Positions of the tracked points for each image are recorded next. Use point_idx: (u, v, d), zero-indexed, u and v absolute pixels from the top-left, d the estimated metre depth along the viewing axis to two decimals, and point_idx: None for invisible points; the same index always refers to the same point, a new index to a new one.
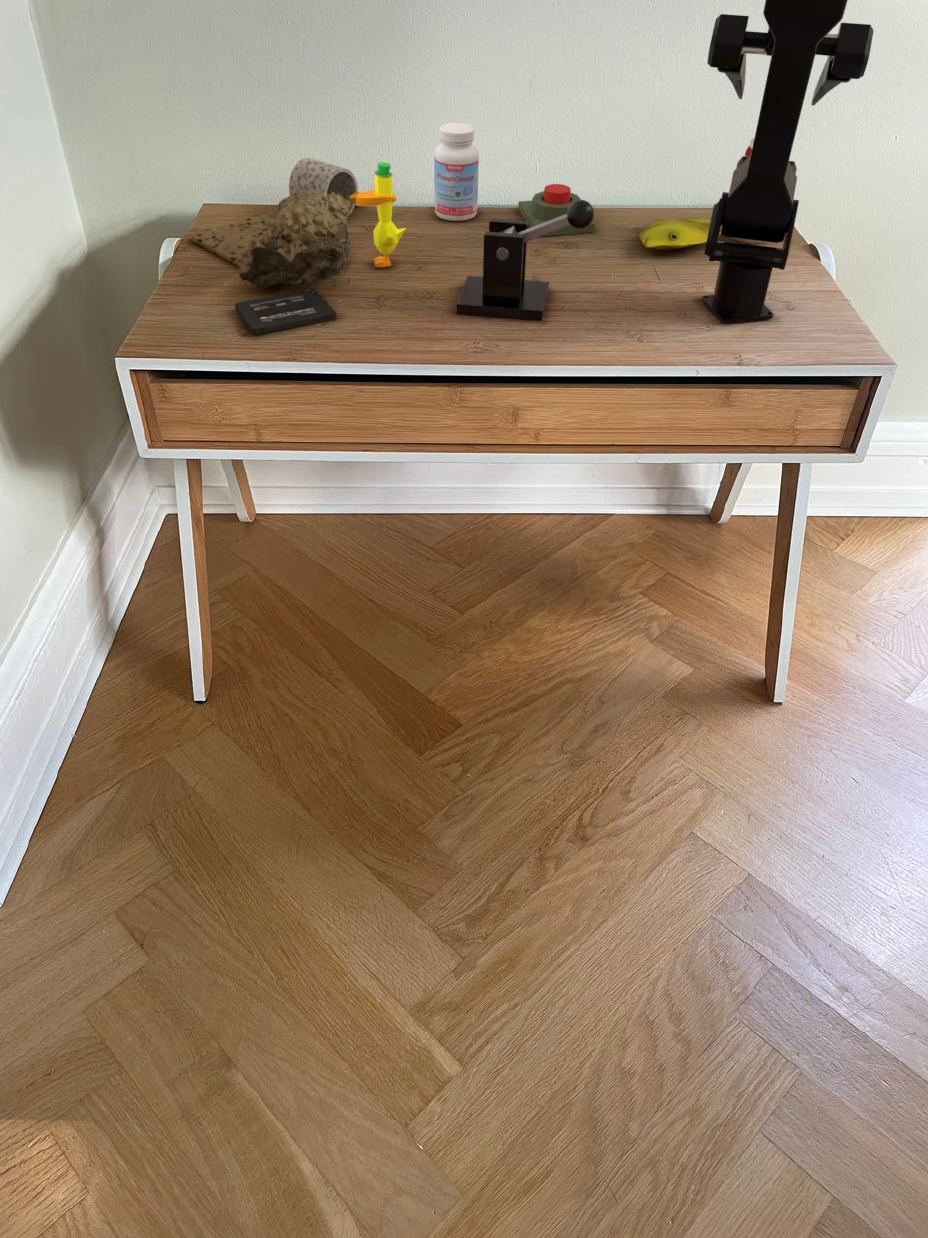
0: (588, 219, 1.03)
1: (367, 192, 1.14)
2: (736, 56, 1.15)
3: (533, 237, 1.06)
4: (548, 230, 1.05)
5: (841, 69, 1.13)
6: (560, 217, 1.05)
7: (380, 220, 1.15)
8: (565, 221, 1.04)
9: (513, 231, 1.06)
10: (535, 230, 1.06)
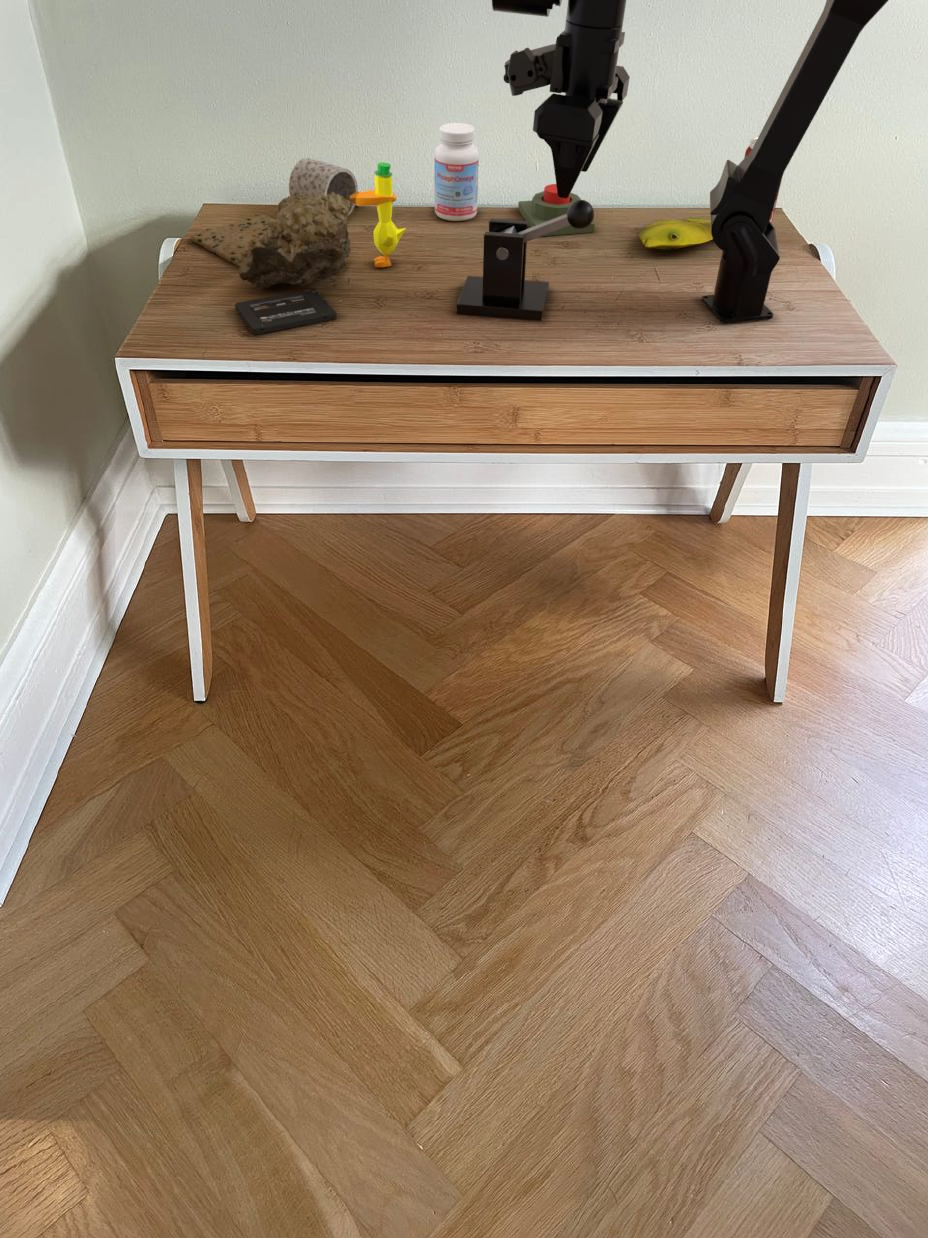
0: (588, 219, 1.03)
1: (367, 192, 1.14)
2: (601, 112, 0.94)
3: (533, 237, 1.06)
4: (548, 230, 1.05)
5: (625, 87, 1.03)
6: (560, 217, 1.05)
7: (380, 220, 1.15)
8: (565, 221, 1.04)
9: (513, 231, 1.06)
10: (535, 230, 1.06)
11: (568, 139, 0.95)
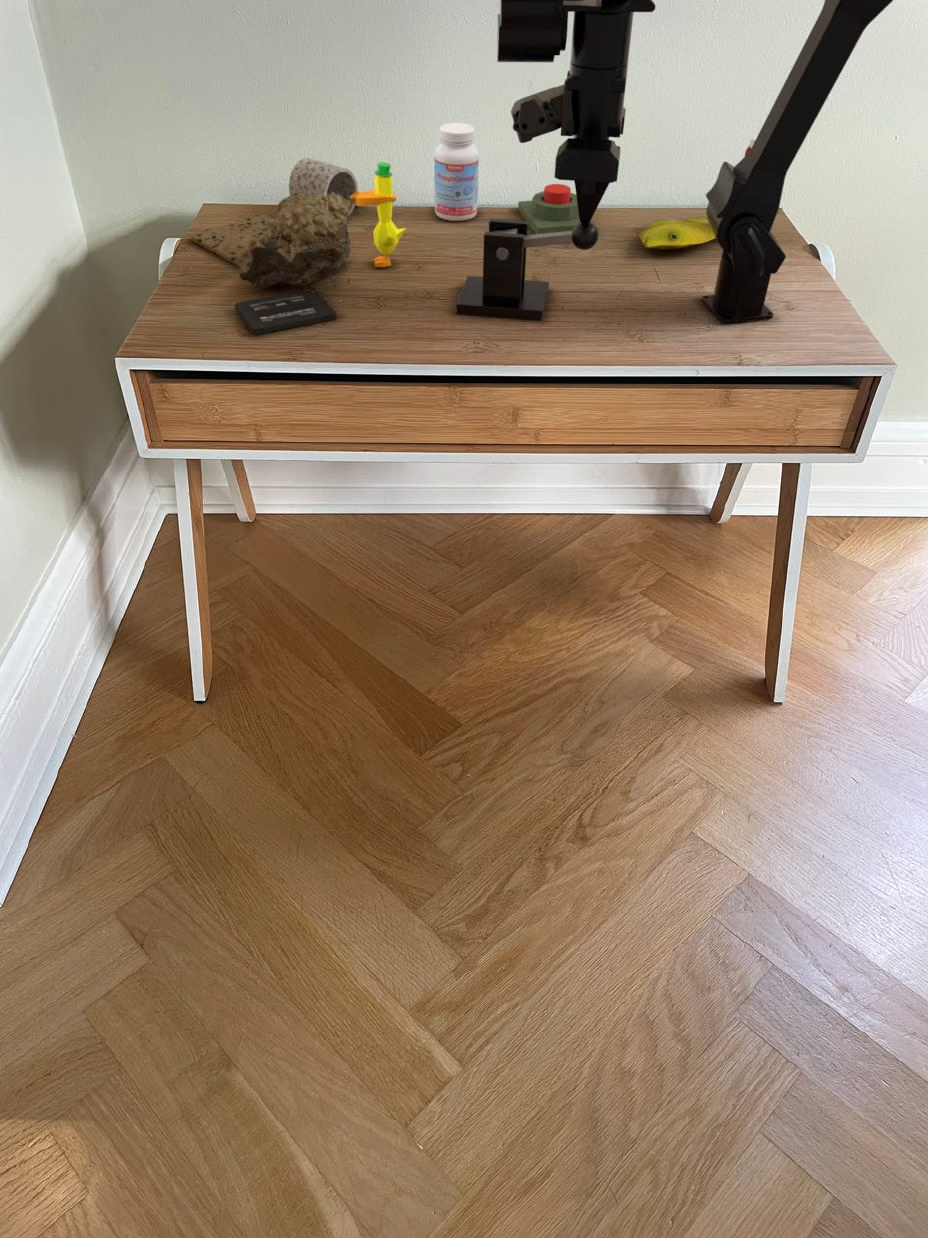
0: (592, 242, 1.05)
1: (367, 192, 1.14)
2: (619, 152, 0.94)
3: (534, 245, 1.07)
4: (550, 242, 1.06)
5: None
6: (565, 233, 1.06)
7: (380, 220, 1.15)
8: (569, 238, 1.06)
9: None
10: (538, 239, 1.06)
11: None
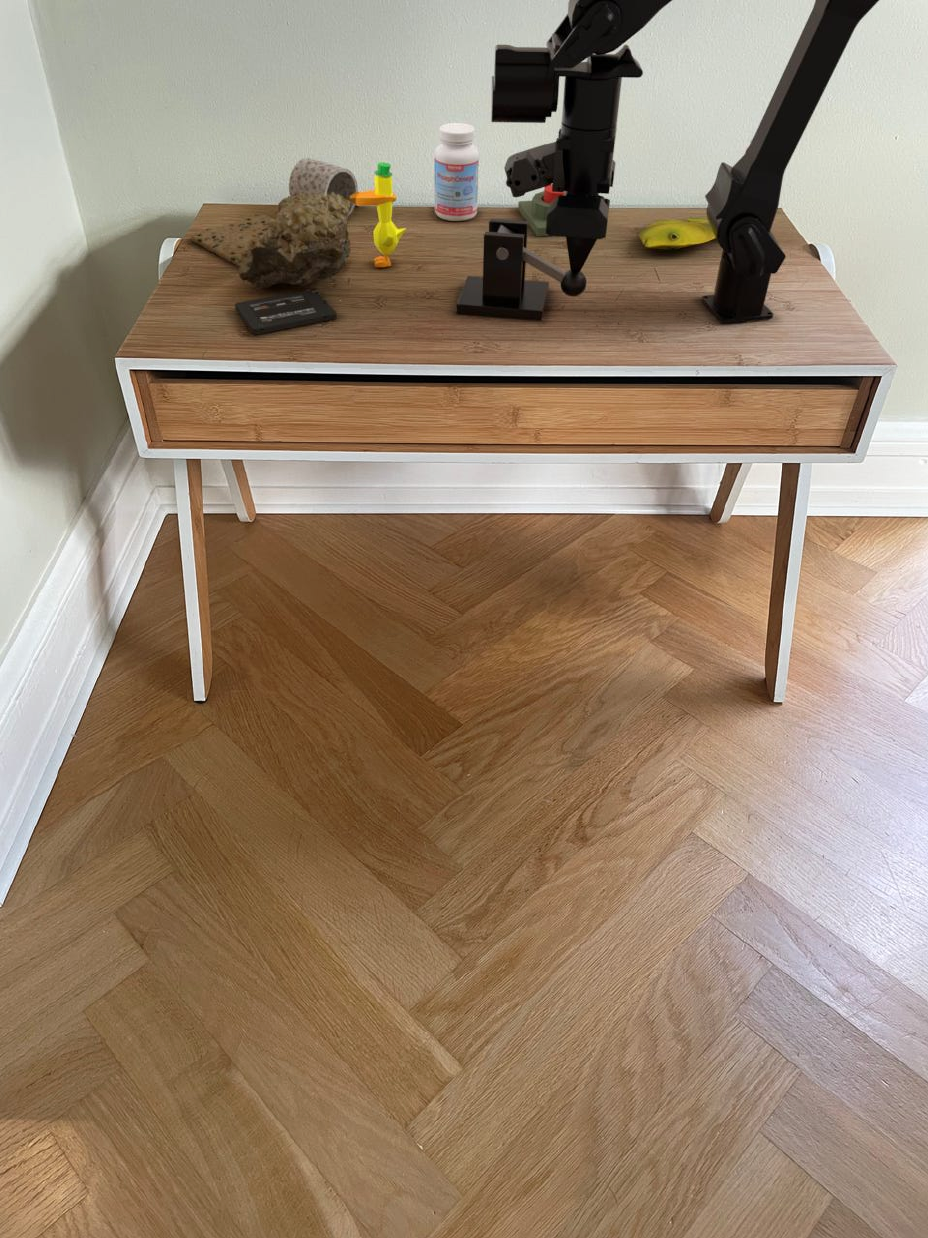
0: (576, 293, 1.09)
1: (367, 192, 1.14)
2: (608, 209, 0.98)
3: (529, 262, 1.08)
4: (543, 269, 1.08)
5: None
6: (559, 269, 1.09)
7: (380, 220, 1.15)
8: (560, 277, 1.09)
9: None
10: (535, 259, 1.08)
11: None
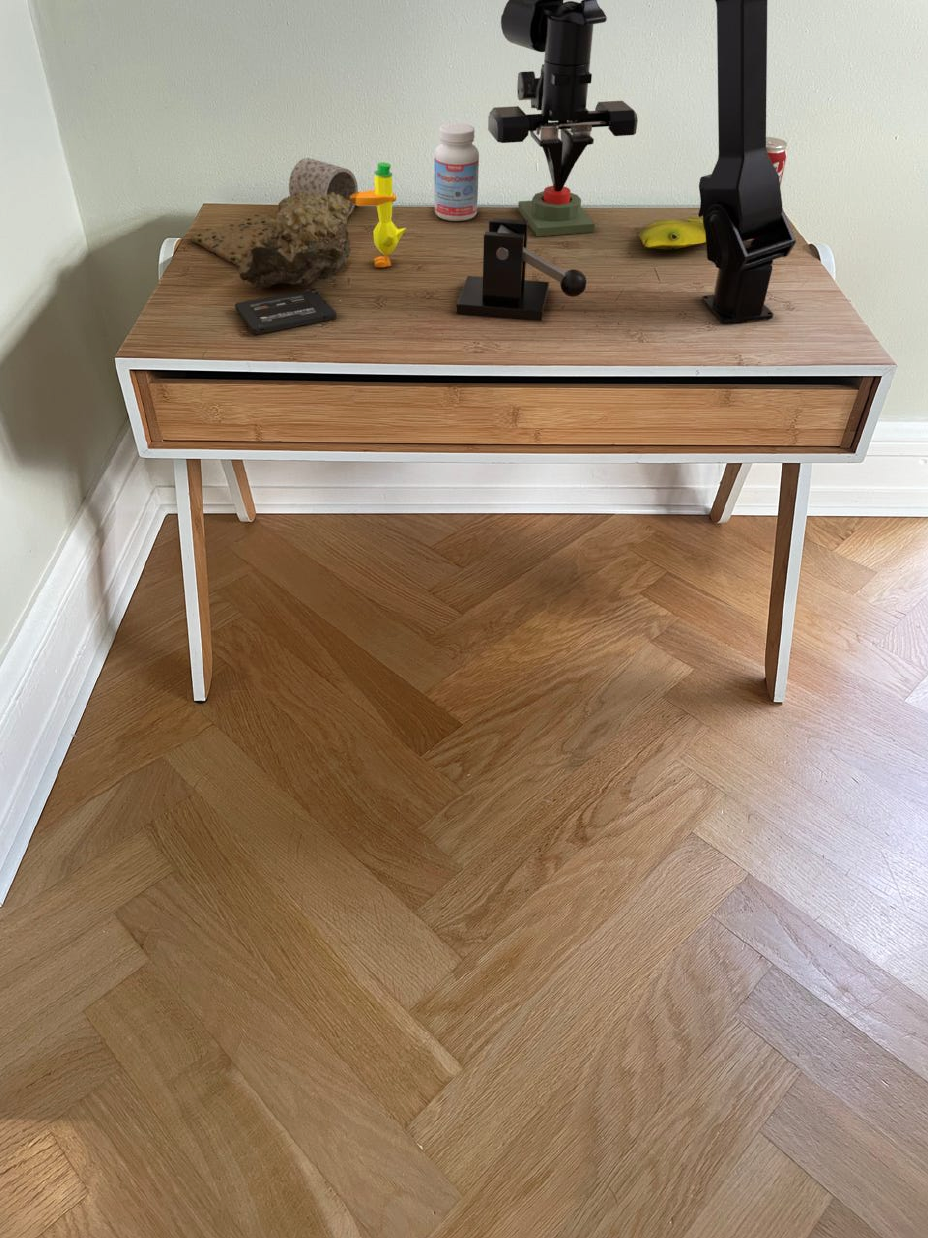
0: (576, 294, 1.09)
1: (367, 192, 1.14)
2: (525, 125, 1.19)
3: (529, 262, 1.08)
4: (543, 269, 1.08)
5: (618, 125, 1.21)
6: (559, 270, 1.09)
7: (380, 220, 1.15)
8: (560, 277, 1.09)
9: None
10: (535, 259, 1.08)
11: (535, 138, 1.23)
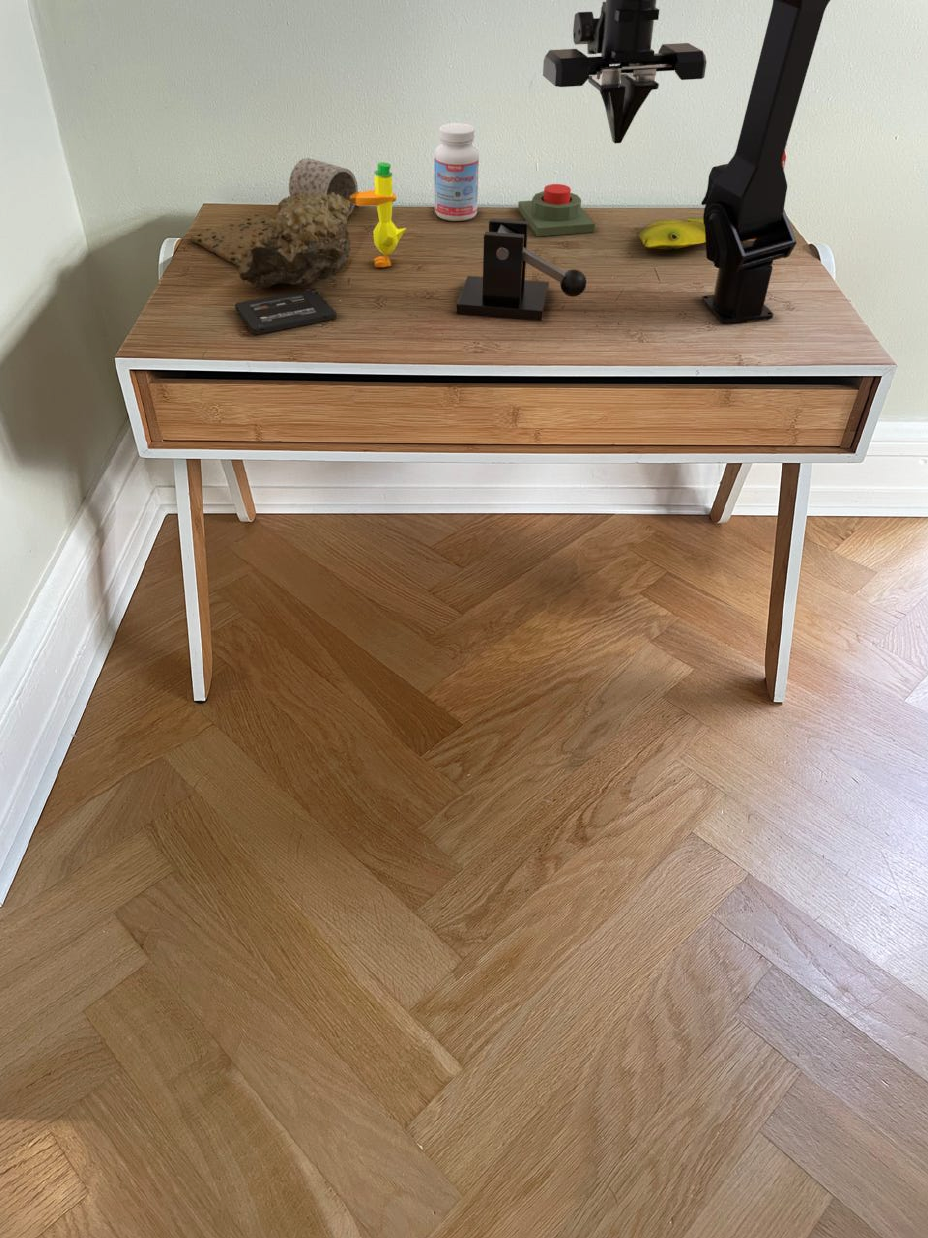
0: (576, 294, 1.09)
1: (367, 192, 1.14)
2: (585, 67, 1.09)
3: (529, 262, 1.08)
4: (543, 269, 1.08)
5: (686, 68, 1.11)
6: (559, 270, 1.09)
7: (380, 220, 1.15)
8: (560, 277, 1.09)
9: None
10: (535, 259, 1.08)
11: (595, 83, 1.13)
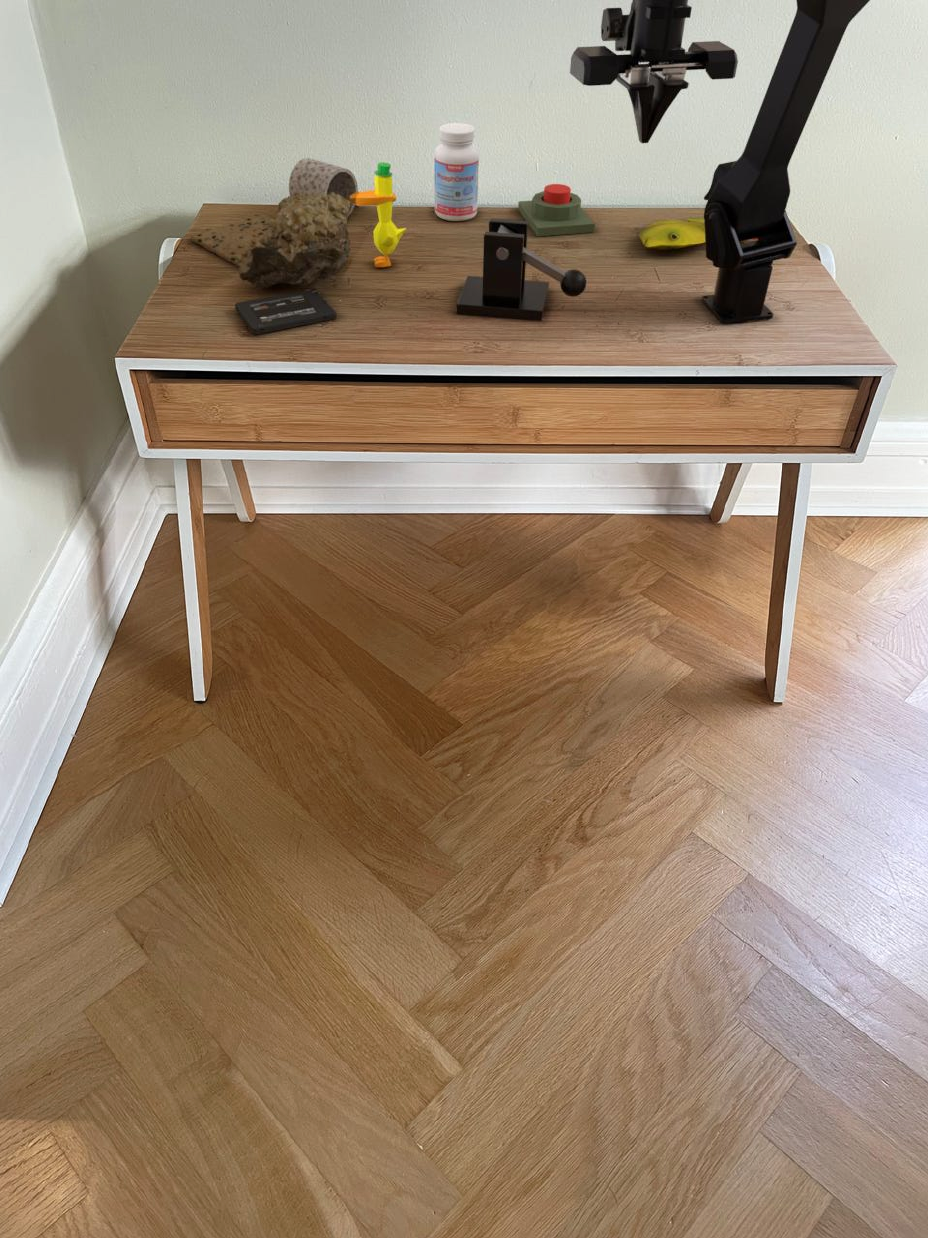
0: (576, 294, 1.09)
1: (367, 192, 1.14)
2: (615, 66, 1.06)
3: (529, 262, 1.08)
4: (543, 269, 1.08)
5: (717, 67, 1.09)
6: (559, 270, 1.09)
7: (380, 220, 1.15)
8: (560, 277, 1.09)
9: None
10: (535, 259, 1.08)
11: (623, 82, 1.10)
